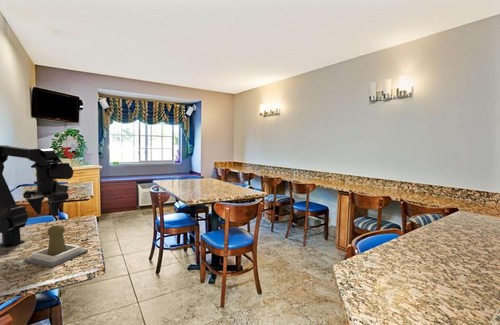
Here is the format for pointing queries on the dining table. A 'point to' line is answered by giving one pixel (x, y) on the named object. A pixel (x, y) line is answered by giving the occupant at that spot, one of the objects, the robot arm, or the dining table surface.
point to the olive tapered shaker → (56, 240)
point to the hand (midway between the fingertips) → (46, 215)
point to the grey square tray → (51, 261)
